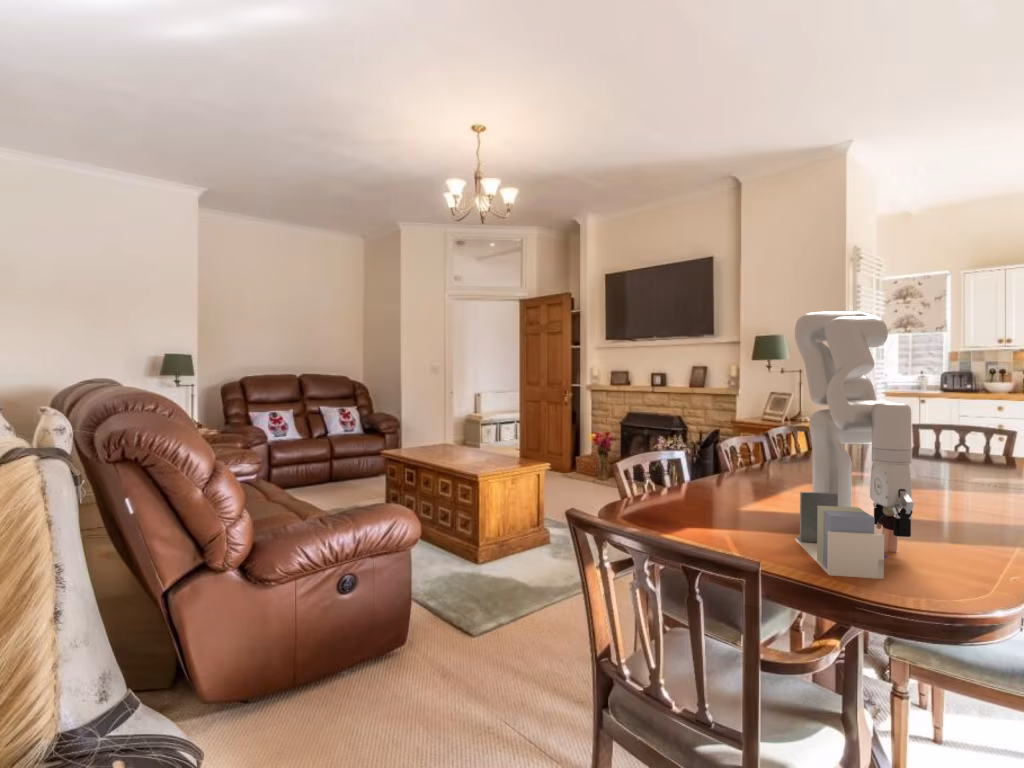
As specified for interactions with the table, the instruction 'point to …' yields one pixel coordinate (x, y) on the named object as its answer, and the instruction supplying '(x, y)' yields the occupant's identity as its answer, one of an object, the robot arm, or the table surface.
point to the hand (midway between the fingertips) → (891, 530)
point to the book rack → (851, 554)
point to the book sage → (821, 526)
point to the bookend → (813, 512)
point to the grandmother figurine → (888, 529)
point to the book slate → (846, 525)
